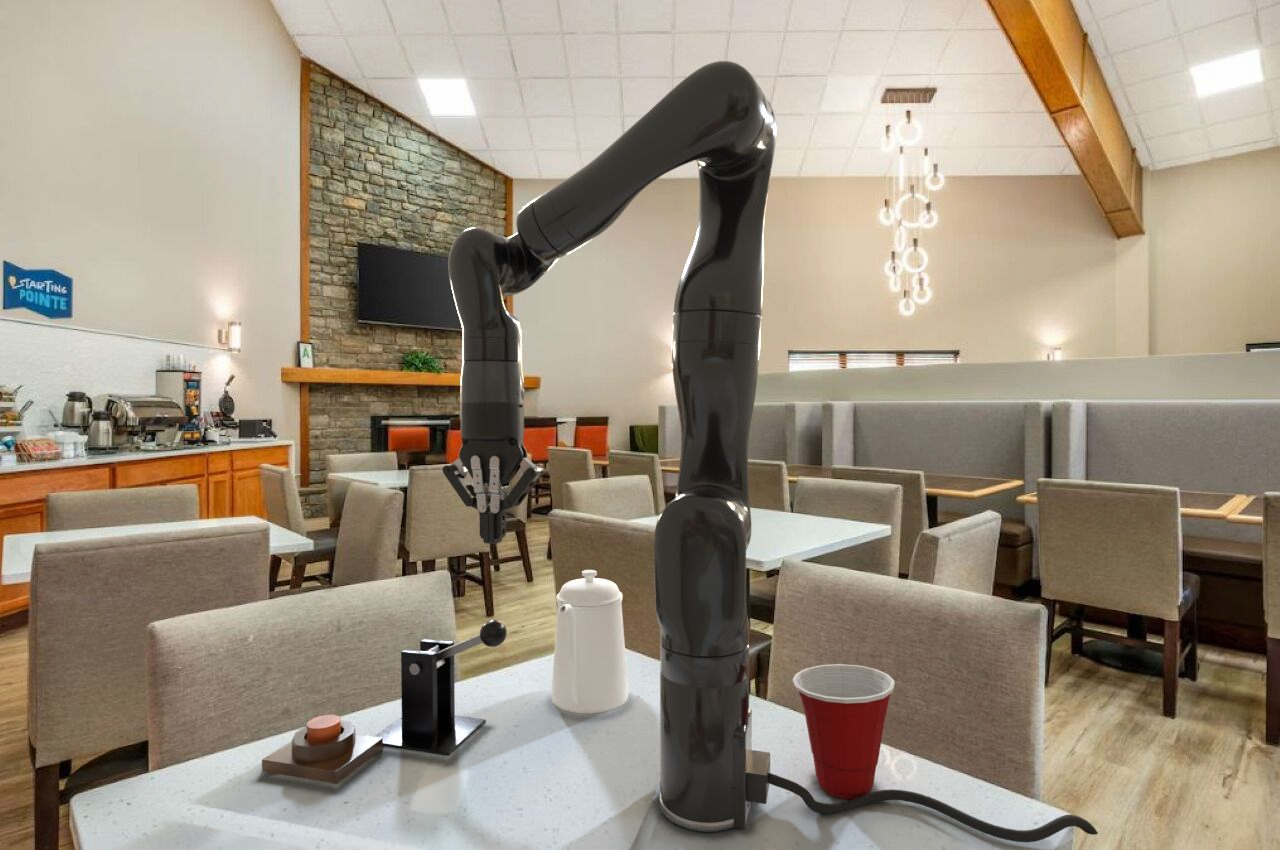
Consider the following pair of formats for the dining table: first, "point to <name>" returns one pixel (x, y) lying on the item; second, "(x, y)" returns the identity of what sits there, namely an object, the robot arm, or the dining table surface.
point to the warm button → (323, 728)
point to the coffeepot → (589, 647)
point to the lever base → (428, 705)
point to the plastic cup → (844, 724)
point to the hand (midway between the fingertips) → (493, 542)
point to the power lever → (474, 641)
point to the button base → (323, 755)
